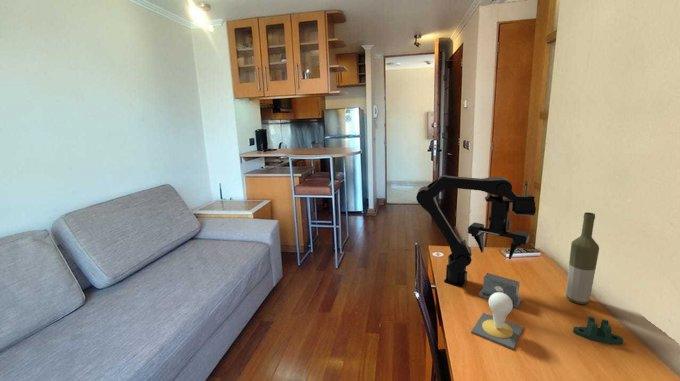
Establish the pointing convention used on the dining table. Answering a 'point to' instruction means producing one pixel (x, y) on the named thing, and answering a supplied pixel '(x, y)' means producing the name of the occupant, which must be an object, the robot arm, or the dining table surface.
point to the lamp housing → (501, 288)
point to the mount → (598, 332)
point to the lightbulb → (500, 308)
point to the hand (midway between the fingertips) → (495, 255)
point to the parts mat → (497, 331)
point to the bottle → (582, 263)
